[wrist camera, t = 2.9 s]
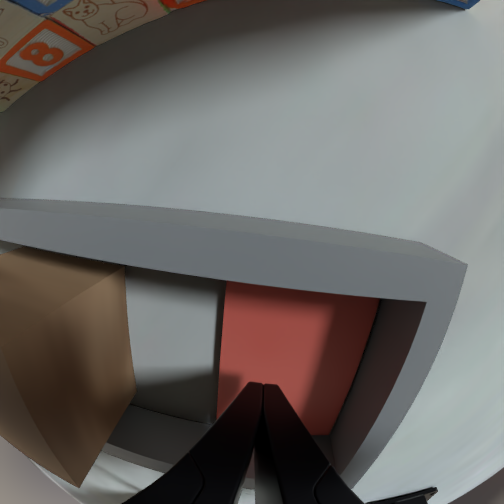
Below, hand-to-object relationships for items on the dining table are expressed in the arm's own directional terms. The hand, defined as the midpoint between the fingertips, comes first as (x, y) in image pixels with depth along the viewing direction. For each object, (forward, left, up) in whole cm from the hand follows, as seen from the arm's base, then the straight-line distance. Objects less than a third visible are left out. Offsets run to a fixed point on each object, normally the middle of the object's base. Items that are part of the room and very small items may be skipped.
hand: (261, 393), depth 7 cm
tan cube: (0, +8, -2) cm, 8 cm away
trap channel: (0, +5, -2) cm, 5 cm away
